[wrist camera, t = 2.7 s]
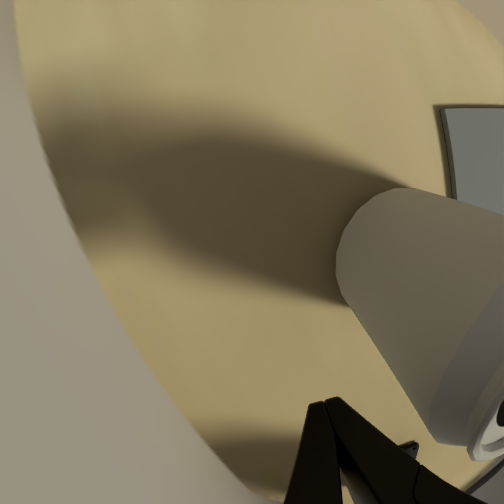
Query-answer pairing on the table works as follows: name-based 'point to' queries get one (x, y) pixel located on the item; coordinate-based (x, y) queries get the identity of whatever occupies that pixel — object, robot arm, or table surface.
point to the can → (433, 308)
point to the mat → (476, 155)
